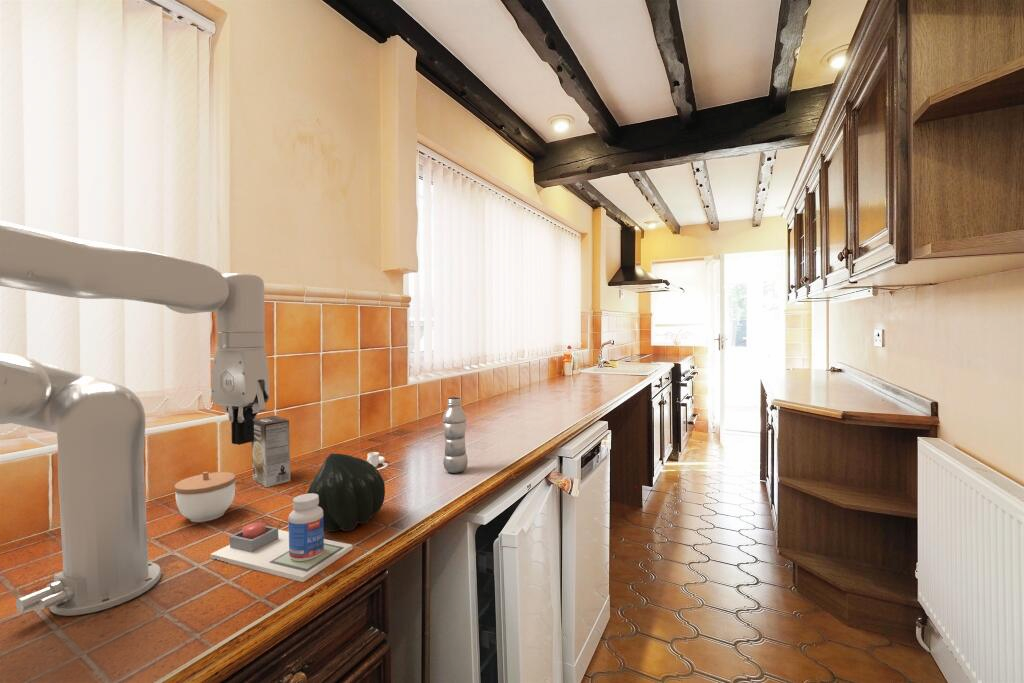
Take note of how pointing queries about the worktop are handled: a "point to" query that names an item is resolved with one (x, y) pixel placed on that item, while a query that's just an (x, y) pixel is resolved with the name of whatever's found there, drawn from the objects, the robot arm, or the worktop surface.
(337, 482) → the squash
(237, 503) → the worktop surface
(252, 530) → the button
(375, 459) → the teacup and saucer
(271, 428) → the coffee box
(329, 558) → the white flat board
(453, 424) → the plastic bottle
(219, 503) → the lidded jar
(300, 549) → the pill bottle
